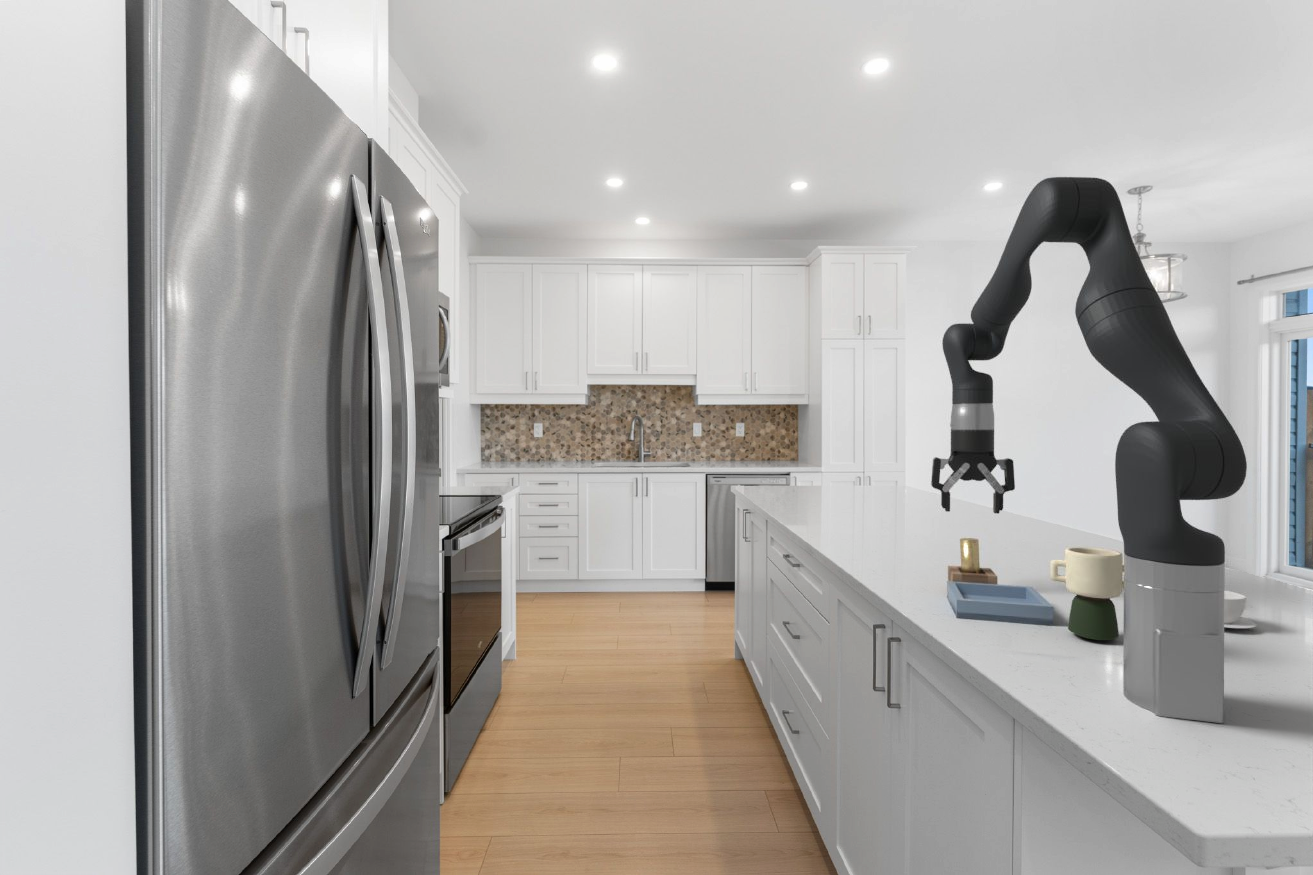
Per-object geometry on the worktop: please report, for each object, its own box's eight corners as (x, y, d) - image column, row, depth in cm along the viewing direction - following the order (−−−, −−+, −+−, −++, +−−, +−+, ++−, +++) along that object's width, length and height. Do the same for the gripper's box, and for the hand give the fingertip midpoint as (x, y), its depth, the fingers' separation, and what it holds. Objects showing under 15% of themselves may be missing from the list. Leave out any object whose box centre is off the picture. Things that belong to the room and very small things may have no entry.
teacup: (1261, 635, 98) (1261, 604, 98) (1177, 623, 104) (1177, 594, 104) (1252, 619, 106) (1252, 591, 106) (1174, 610, 112) (1174, 583, 112)
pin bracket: (997, 597, 119) (997, 576, 119) (952, 594, 122) (952, 573, 122) (990, 588, 126) (990, 568, 126) (947, 585, 129) (947, 565, 129)
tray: (1053, 625, 102) (1053, 606, 102) (956, 617, 107) (956, 599, 107) (1032, 603, 116) (1032, 586, 116) (946, 597, 120) (946, 581, 120)
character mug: (1135, 637, 97) (1135, 550, 96) (1141, 651, 90) (1142, 558, 90) (1049, 626, 102) (1050, 544, 102) (1050, 638, 96) (1050, 551, 96)
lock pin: (981, 593, 122) (979, 540, 122) (963, 592, 123) (960, 540, 123) (979, 589, 125) (977, 538, 125) (961, 589, 126) (959, 538, 126)
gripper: (933, 428, 122) (933, 513, 123) (1018, 427, 118) (1017, 516, 118) (930, 427, 129) (929, 508, 130) (1009, 427, 125) (1009, 511, 125)
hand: (971, 512), depth 124 cm, fingers open, 8 cm apart
